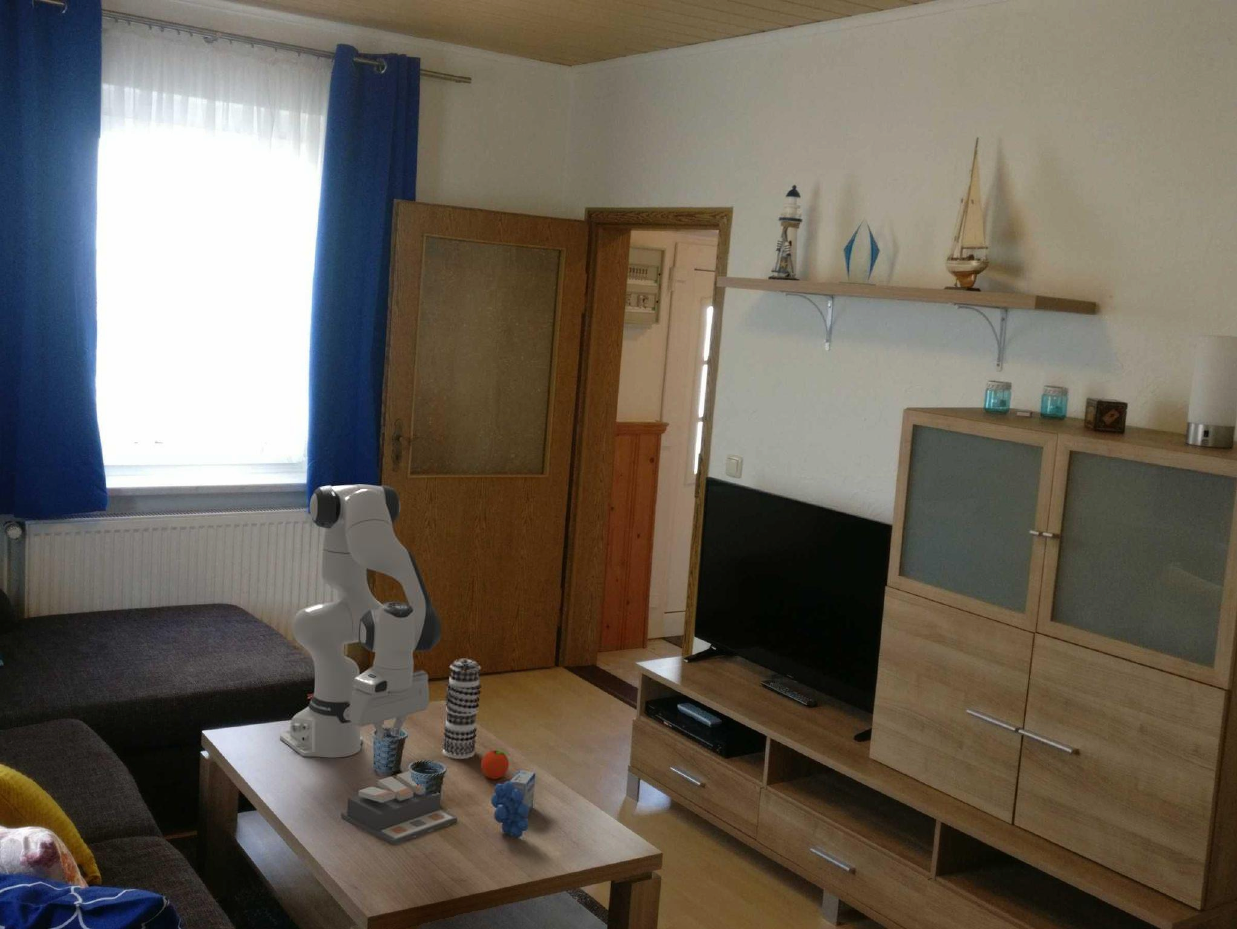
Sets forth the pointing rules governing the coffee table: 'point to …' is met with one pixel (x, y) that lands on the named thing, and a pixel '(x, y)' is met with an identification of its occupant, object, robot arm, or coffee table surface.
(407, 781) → the rocker
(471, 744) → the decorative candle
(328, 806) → the coffee table surface
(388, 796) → the block
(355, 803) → the switch unit
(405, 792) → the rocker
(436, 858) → the coffee table surface
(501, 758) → the tomato
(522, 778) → the medicine box
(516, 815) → the grapes
